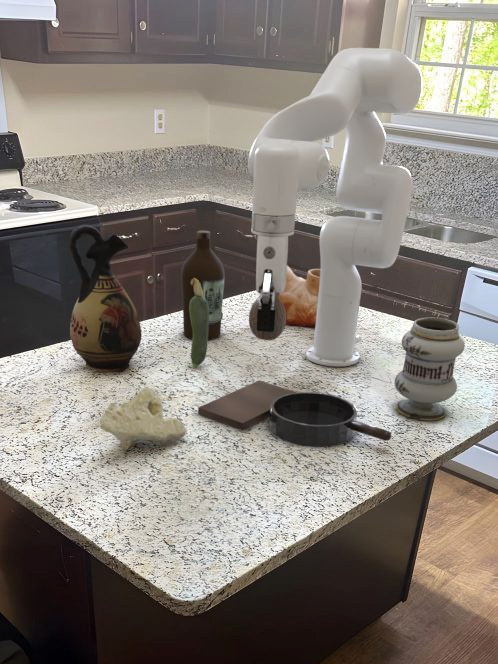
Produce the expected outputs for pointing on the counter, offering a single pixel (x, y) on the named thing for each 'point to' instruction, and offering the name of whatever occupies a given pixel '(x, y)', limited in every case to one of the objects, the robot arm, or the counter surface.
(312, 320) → the ceramic vessel
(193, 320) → the vegetable
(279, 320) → the vase
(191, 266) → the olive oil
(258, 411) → the board
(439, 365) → the apothecary jar
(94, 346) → the ceramic jug
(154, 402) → the cream coral rock
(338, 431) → the pan
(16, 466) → the counter surface
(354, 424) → the pan handle
